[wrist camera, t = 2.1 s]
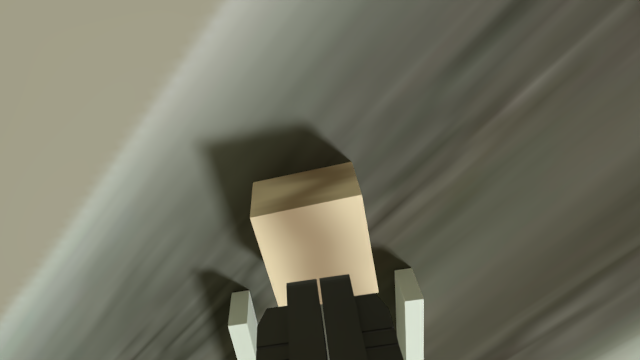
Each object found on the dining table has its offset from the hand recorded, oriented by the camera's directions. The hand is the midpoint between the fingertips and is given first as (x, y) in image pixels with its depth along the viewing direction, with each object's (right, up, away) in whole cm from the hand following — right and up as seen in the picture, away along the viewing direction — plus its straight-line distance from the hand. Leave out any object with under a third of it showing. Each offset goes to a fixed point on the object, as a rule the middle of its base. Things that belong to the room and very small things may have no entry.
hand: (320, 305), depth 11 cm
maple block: (0, +1, +19) cm, 19 cm away
